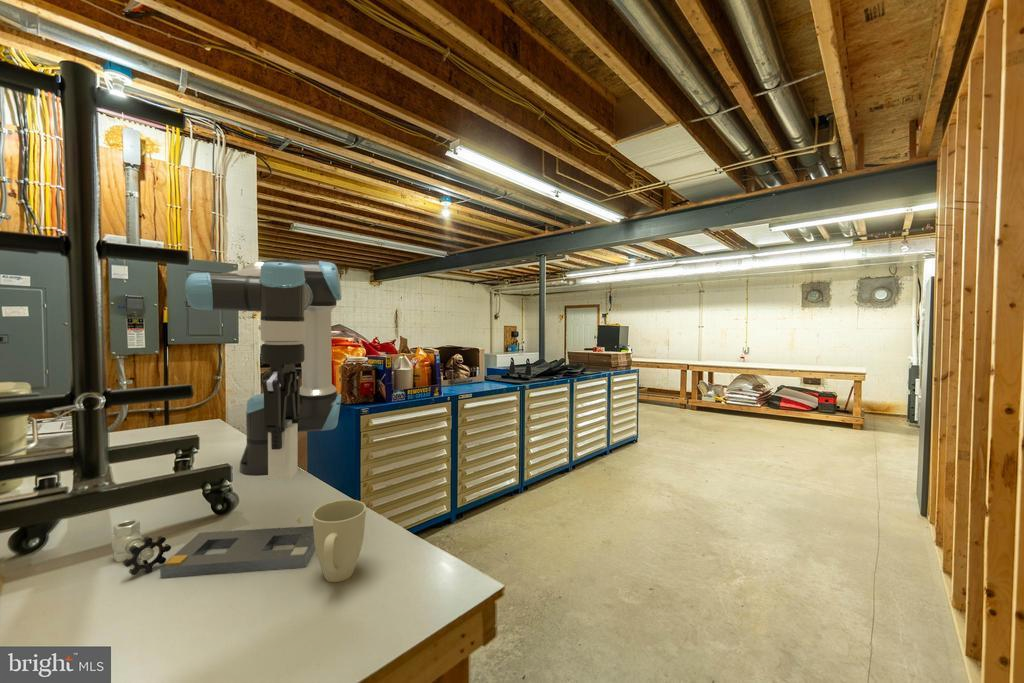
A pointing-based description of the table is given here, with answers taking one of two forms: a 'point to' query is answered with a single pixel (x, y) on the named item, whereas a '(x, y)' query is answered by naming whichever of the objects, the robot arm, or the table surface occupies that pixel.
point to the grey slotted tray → (242, 552)
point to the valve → (136, 547)
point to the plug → (292, 455)
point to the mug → (339, 537)
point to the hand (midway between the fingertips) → (283, 459)
